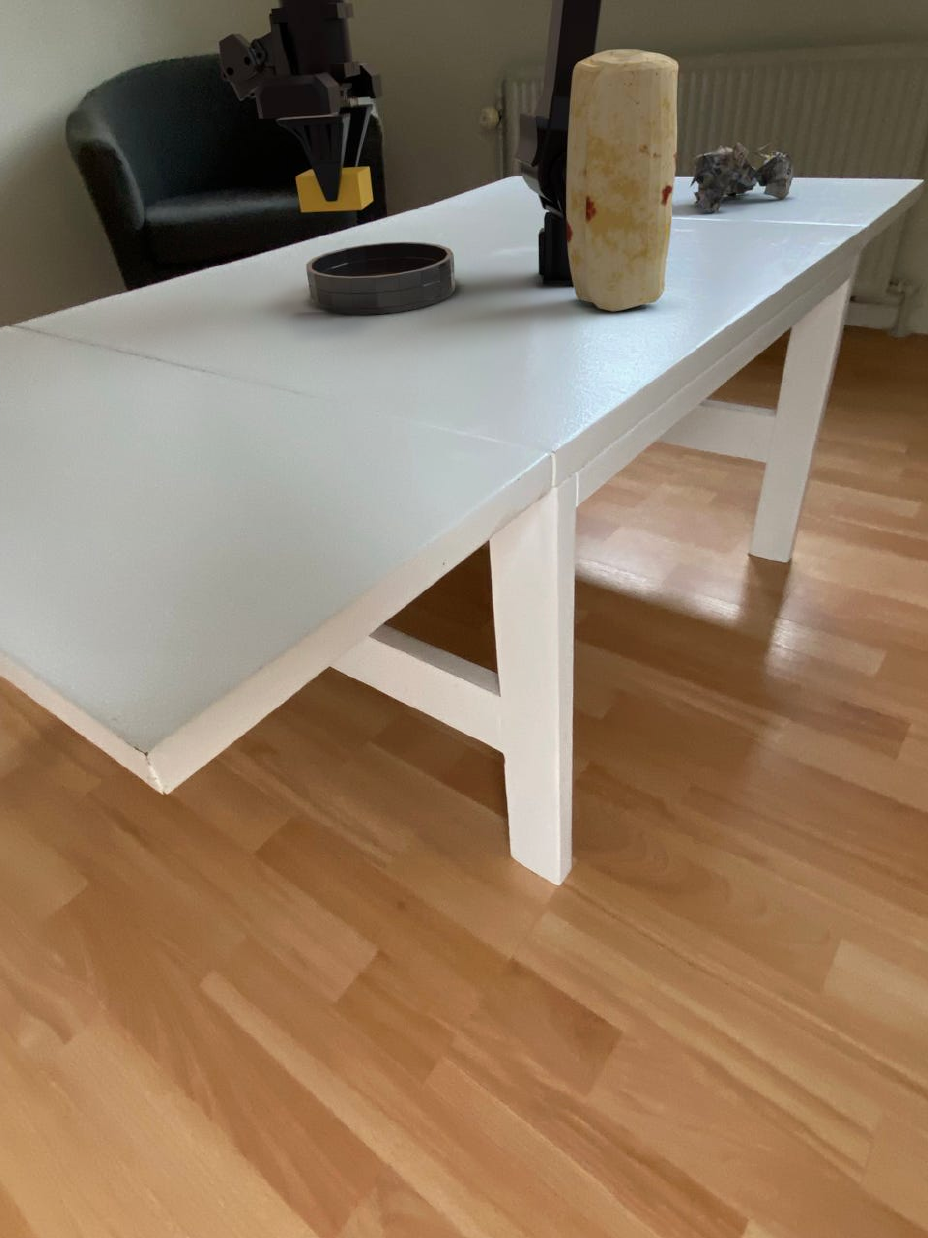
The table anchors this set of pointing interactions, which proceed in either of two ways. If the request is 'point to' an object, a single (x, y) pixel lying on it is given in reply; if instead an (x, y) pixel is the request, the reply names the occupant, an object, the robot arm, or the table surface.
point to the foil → (739, 175)
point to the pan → (381, 278)
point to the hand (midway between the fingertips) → (338, 196)
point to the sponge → (351, 192)
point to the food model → (621, 176)
